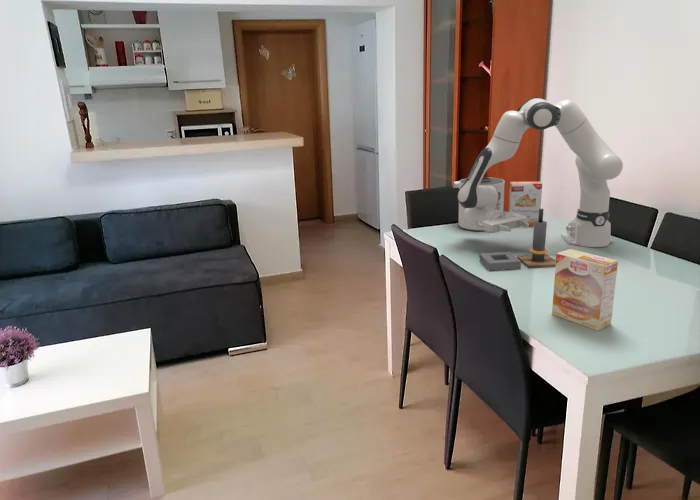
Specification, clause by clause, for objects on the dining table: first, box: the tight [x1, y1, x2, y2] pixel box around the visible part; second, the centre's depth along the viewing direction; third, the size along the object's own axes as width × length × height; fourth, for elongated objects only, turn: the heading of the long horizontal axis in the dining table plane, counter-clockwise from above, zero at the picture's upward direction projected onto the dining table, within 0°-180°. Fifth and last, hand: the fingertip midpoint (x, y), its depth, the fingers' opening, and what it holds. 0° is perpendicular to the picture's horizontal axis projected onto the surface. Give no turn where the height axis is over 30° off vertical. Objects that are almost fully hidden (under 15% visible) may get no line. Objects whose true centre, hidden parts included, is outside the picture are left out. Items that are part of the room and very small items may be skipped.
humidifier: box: [452, 176, 506, 232], centre depth 254 cm, size 22×21×23 cm
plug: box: [529, 208, 549, 262], centre depth 201 cm, size 6×6×20 cm
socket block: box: [479, 251, 522, 272], centre depth 203 cm, size 12×12×3 cm
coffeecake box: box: [551, 248, 619, 332], centre depth 152 cm, size 15×7×20 cm, turn 35°
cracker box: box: [508, 181, 543, 227], centre depth 253 cm, size 14×6×21 cm, turn 81°
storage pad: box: [516, 253, 556, 269], centre depth 204 cm, size 12×12×1 cm
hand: (518, 227), depth 210 cm, fingers open, 8 cm apart
